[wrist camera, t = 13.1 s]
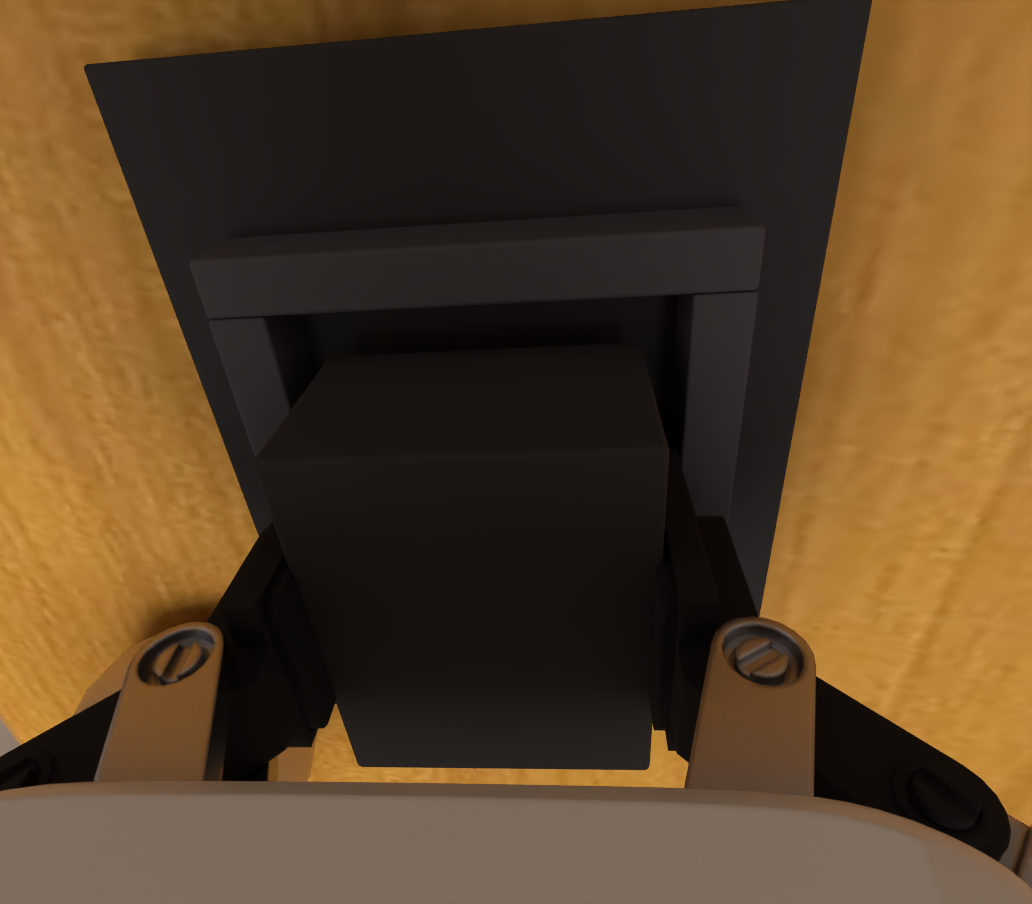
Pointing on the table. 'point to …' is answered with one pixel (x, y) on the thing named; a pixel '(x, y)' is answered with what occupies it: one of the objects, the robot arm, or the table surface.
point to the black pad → (479, 551)
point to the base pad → (509, 214)
